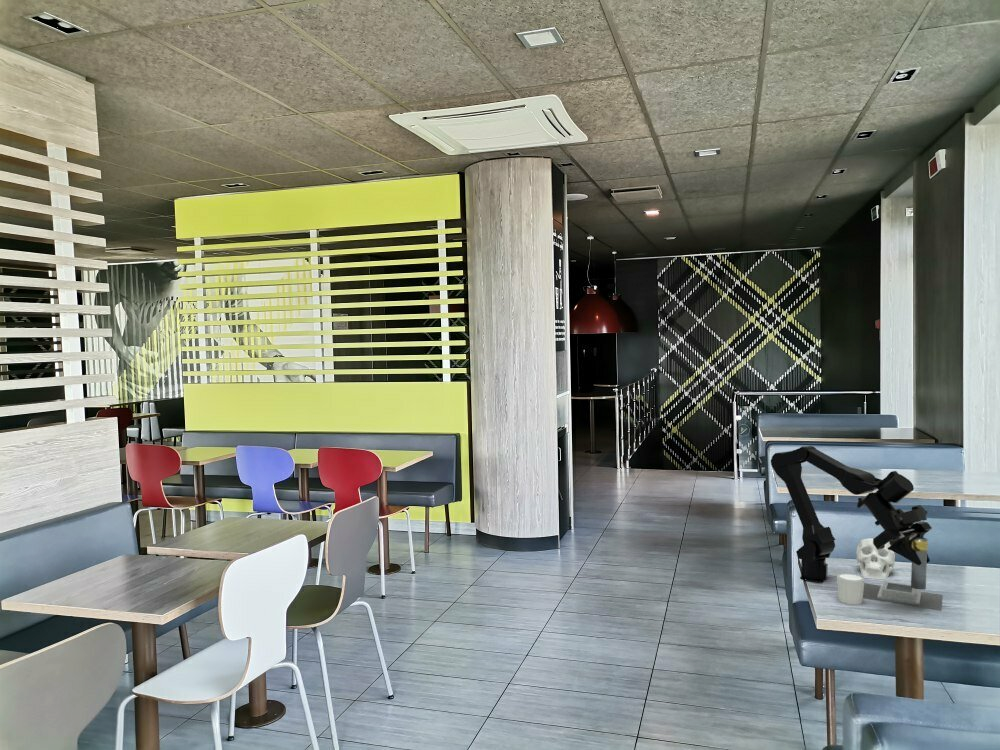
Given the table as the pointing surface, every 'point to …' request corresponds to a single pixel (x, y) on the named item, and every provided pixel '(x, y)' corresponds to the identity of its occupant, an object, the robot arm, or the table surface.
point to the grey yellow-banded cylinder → (919, 570)
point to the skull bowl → (874, 560)
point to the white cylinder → (850, 588)
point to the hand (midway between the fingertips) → (924, 563)
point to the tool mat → (926, 602)
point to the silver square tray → (899, 593)
